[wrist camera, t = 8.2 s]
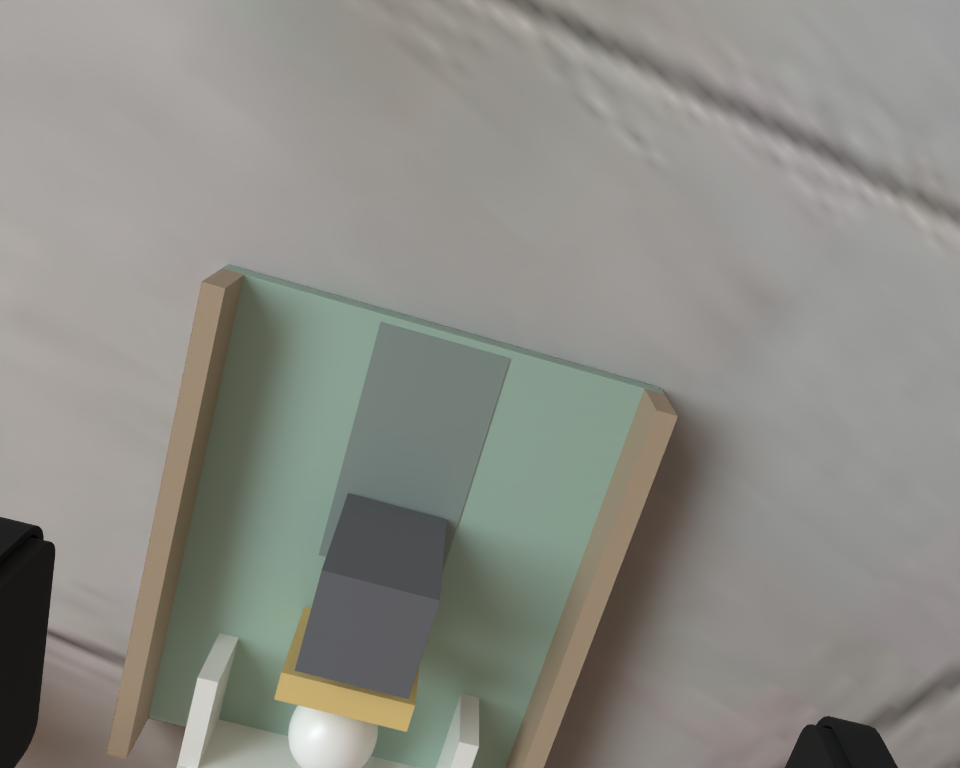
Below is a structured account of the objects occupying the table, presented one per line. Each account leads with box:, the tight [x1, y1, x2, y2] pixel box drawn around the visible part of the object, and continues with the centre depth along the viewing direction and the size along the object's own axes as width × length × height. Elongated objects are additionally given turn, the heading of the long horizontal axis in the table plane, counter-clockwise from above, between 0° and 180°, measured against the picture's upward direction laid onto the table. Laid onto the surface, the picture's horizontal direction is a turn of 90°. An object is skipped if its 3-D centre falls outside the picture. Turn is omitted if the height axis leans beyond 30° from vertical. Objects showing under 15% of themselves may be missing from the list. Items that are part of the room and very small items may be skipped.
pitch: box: [107, 265, 678, 768], centre depth 35 cm, size 17×20×3 cm
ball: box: [288, 705, 378, 768], centre depth 36 cm, size 4×4×4 cm
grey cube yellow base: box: [274, 493, 447, 732], centre depth 33 cm, size 5×7×6 cm
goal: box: [176, 633, 479, 768], centre depth 36 cm, size 11×5×4 cm, turn 74°
